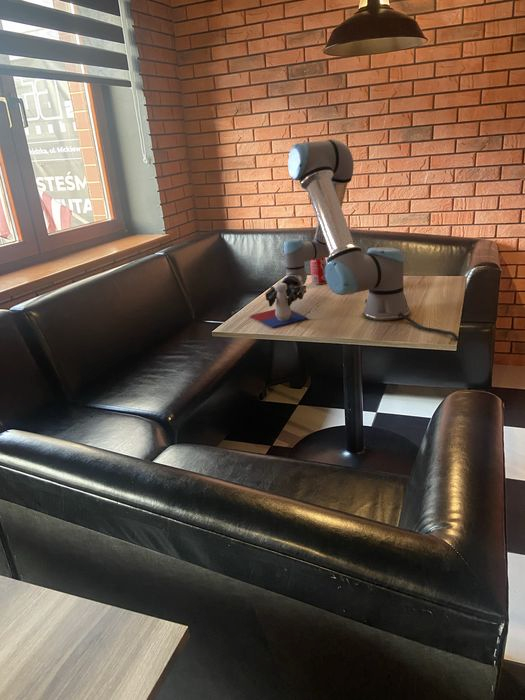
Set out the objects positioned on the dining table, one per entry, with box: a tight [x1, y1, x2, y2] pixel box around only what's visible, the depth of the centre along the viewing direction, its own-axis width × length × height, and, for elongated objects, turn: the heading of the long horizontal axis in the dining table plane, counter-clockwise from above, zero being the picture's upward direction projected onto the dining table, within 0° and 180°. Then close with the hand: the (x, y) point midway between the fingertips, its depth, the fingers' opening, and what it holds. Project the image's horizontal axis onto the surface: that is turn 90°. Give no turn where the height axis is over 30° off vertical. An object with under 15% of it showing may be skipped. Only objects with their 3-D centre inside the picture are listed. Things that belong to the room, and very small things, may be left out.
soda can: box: [309, 258, 328, 285], centre depth 235 cm, size 7×7×12 cm
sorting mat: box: [250, 308, 308, 329], centre depth 195 cm, size 18×14×1 cm
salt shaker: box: [274, 282, 292, 321], centre depth 189 cm, size 6×6×13 cm
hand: (279, 302), depth 184 cm, fingers open, 6 cm apart
